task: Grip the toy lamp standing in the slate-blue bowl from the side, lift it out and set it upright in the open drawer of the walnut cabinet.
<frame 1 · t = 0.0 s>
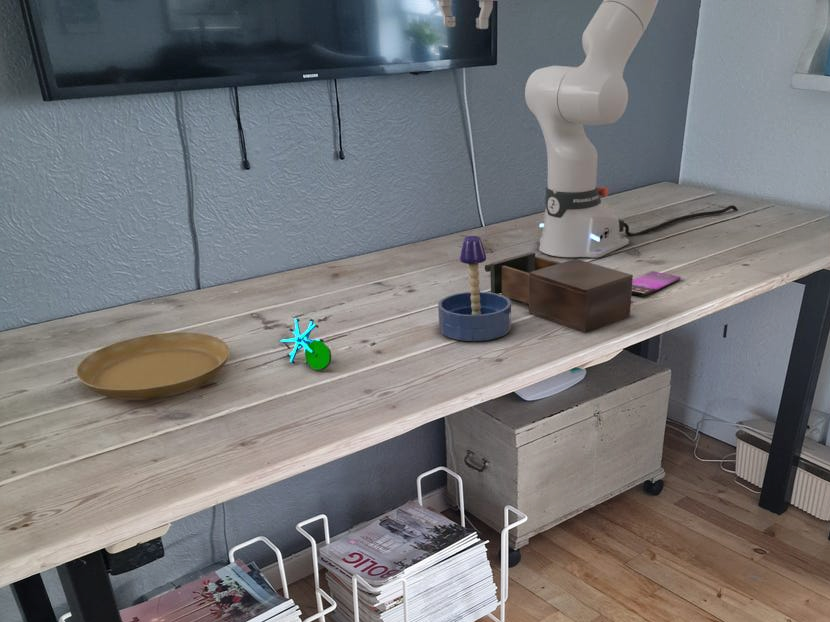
hand: (465, 27, 165), 48 cm above the table, tool pointing down, fingers open, 8 cm apart
toy lamp: (475, 328, 162), resting on bowl
bowl: (475, 329, 162), on the table
smartphone: (647, 286, 182), on the table
cabinet: (579, 314, 168), on the table
plant saucer: (158, 377, 146), on the table
drawer: (527, 277, 175), point 4 cm above the table, slide at 10.5 cm
stick construction toy: (315, 361, 151), on the table
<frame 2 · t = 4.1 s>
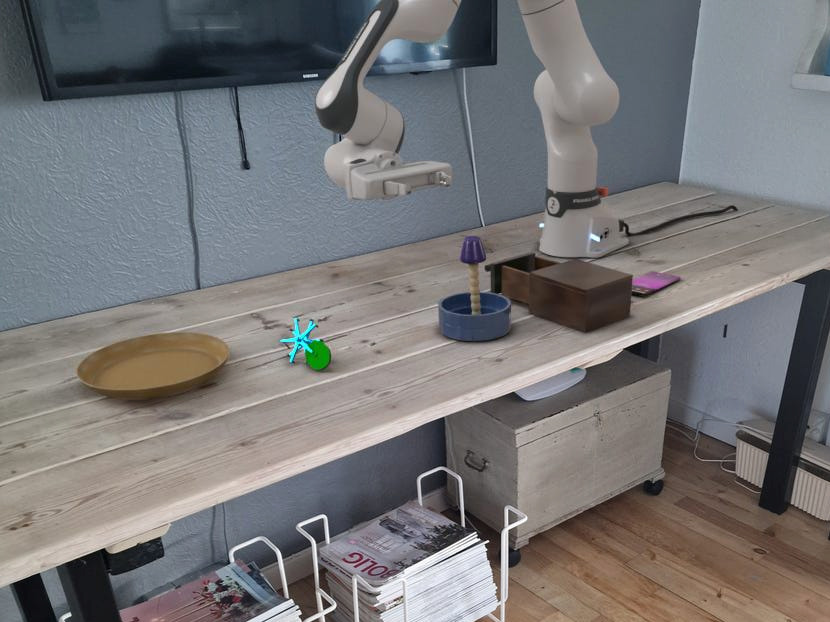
hand: (428, 186, 158), 24 cm above the table, tool horizontal, fingers open, 8 cm apart
nothing on the table moved.
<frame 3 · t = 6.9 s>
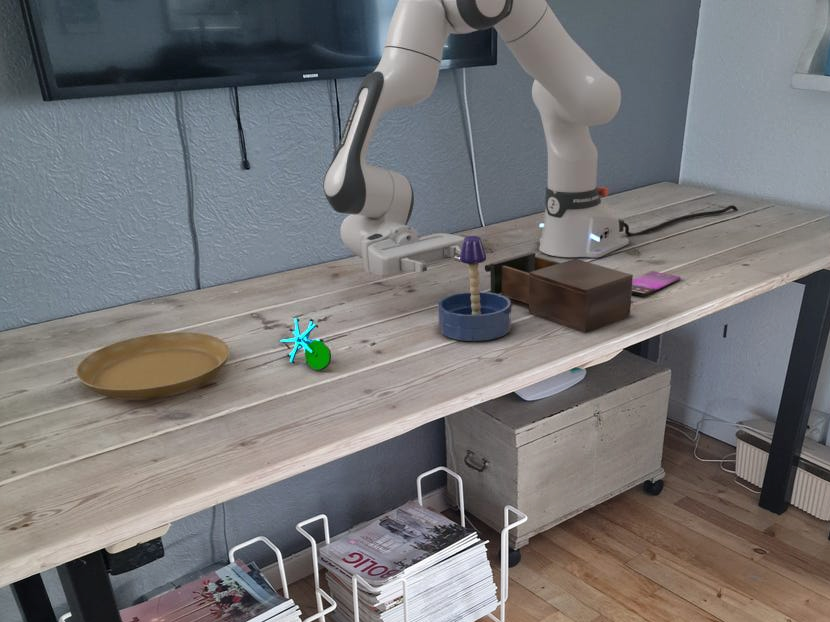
hand: (443, 262, 162), 11 cm above the table, tool horizontal, fingers open, 8 cm apart
nothing on the table moved.
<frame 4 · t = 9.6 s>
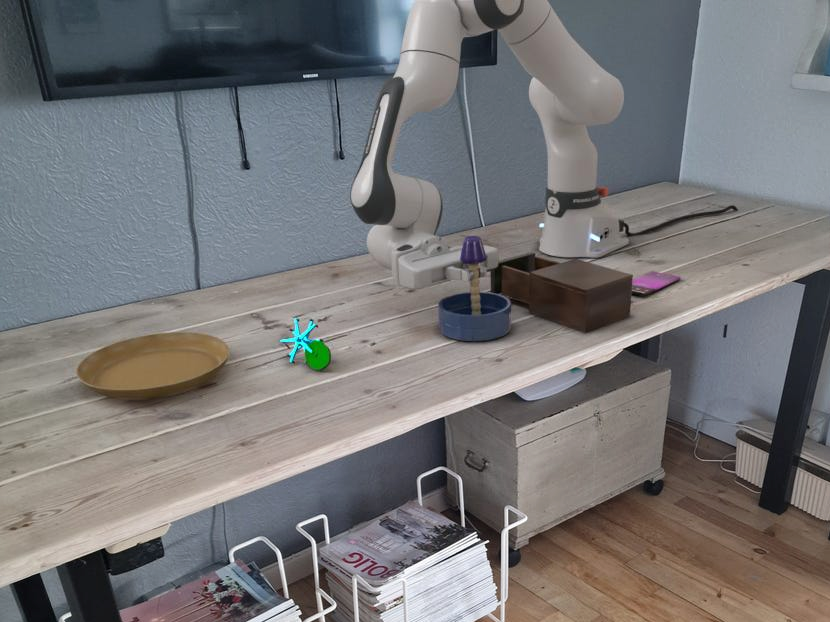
hand: (477, 274, 156), 11 cm above the table, tool horizontal, fingers closed on toy lamp
toy lamp: (475, 328, 162), resting on bowl, touching gripper
everything else where it was.
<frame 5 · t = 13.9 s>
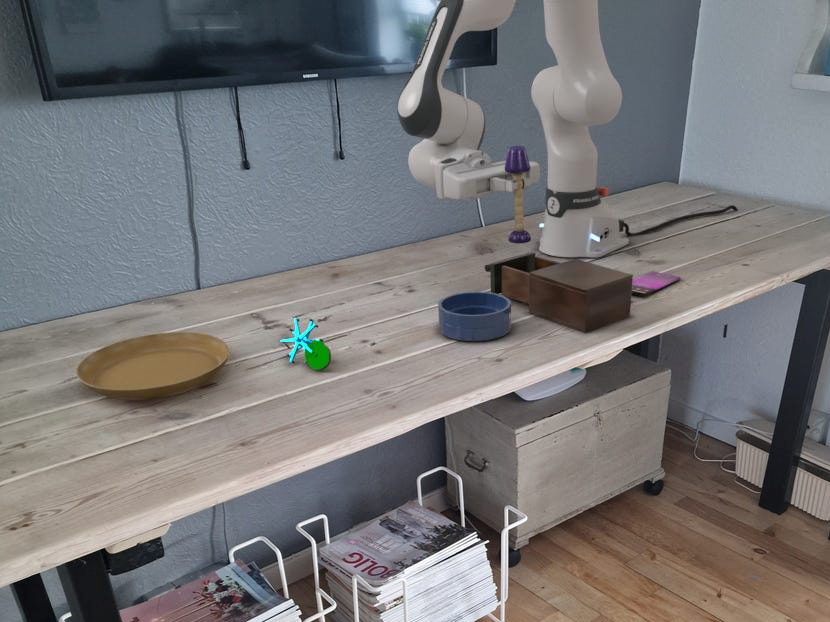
hand: (521, 185, 159), 24 cm above the table, tool horizontal, fingers closed on toy lamp
toy lamp: (517, 241, 165), point 13 cm above the table, touching gripper
everything else where it was.
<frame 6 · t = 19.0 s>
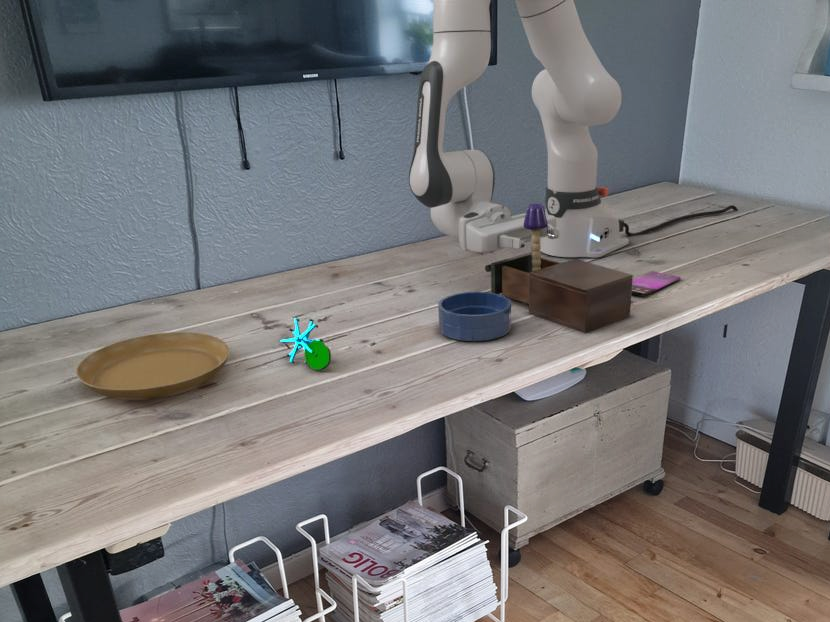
hand: (539, 239, 169), 12 cm above the table, tool horizontal, fingers open, 8 cm apart
toy lamp: (534, 291, 175), point 2 cm above the table, touching drawer
drawer: (527, 277, 175), point 4 cm above the table, slide at 10.4 cm, touching toy lamp
everything else where it was.
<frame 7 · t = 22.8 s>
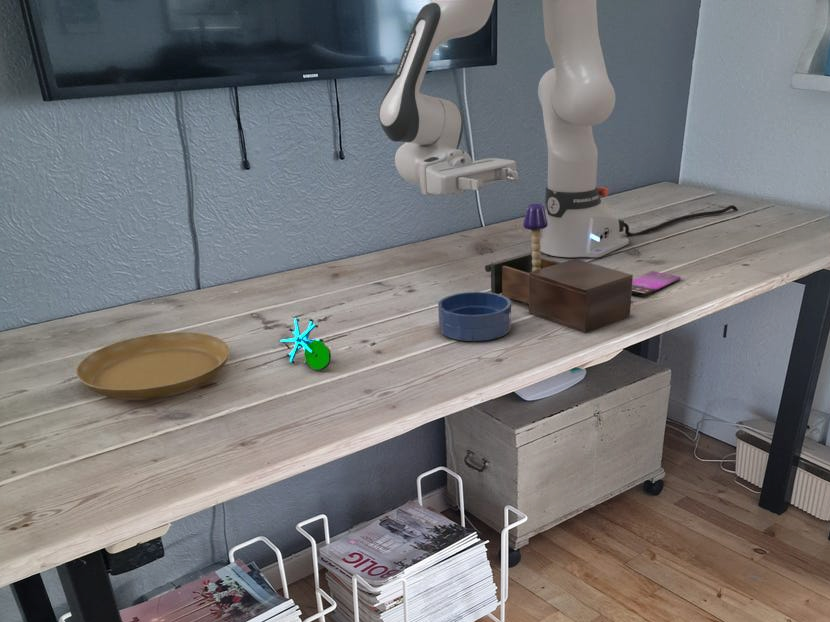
hand: (498, 181, 172), 21 cm above the table, tool horizontal, fingers open, 8 cm apart
nothing on the table moved.
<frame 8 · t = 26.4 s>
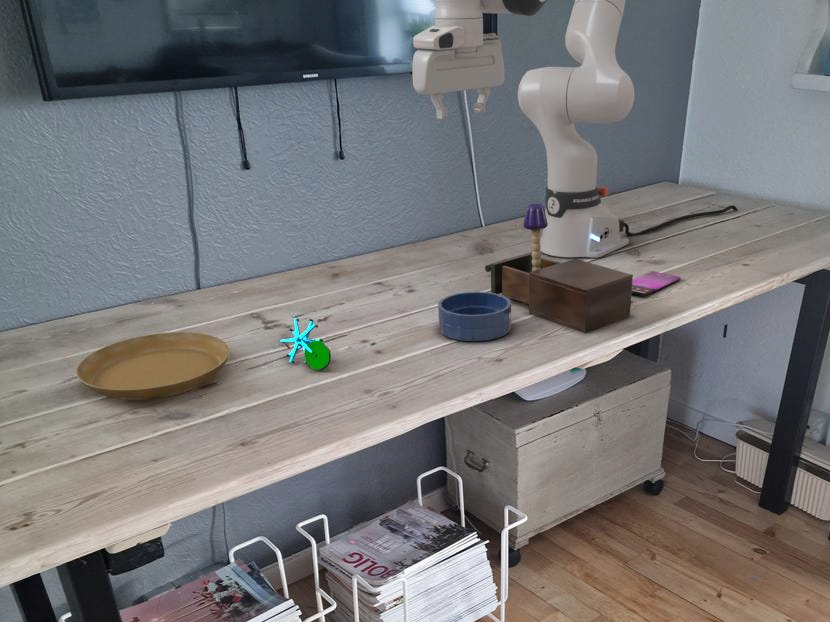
hand: (461, 115, 169), 33 cm above the table, tool pointing down, fingers open, 8 cm apart
nothing on the table moved.
at the end: toy lamp 0.1 cm from the target spot in the drawer, point 1.8 cm above the cabinet's base; toy lamp touching drawer; toy lamp tilted 0° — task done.
